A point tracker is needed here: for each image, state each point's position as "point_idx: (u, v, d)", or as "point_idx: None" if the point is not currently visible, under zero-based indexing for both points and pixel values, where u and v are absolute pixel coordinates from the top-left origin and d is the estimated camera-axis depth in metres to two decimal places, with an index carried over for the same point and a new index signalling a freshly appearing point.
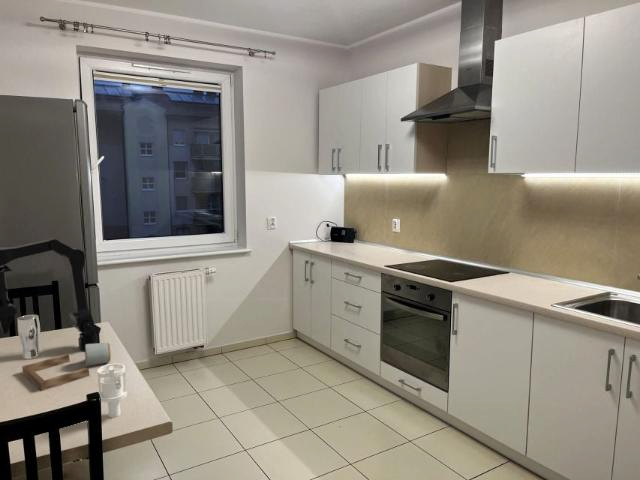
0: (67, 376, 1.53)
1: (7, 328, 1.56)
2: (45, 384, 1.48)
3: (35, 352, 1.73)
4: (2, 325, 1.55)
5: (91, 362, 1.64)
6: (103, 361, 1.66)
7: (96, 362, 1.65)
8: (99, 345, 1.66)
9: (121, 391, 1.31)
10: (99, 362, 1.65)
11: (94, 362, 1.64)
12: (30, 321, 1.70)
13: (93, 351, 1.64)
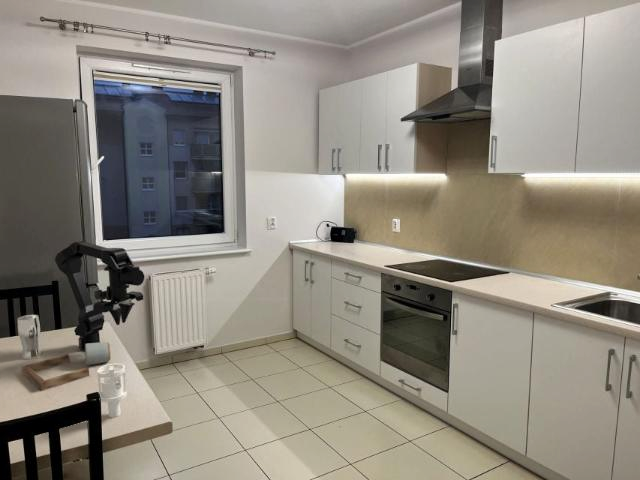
0: (67, 376, 1.53)
1: (117, 321, 1.72)
2: (45, 384, 1.48)
3: (35, 352, 1.73)
4: (113, 317, 1.72)
5: (91, 361, 1.64)
6: (103, 360, 1.66)
7: (96, 361, 1.65)
8: (99, 344, 1.67)
9: (121, 391, 1.31)
10: (99, 361, 1.66)
11: (93, 362, 1.65)
12: (30, 321, 1.70)
13: (93, 350, 1.64)
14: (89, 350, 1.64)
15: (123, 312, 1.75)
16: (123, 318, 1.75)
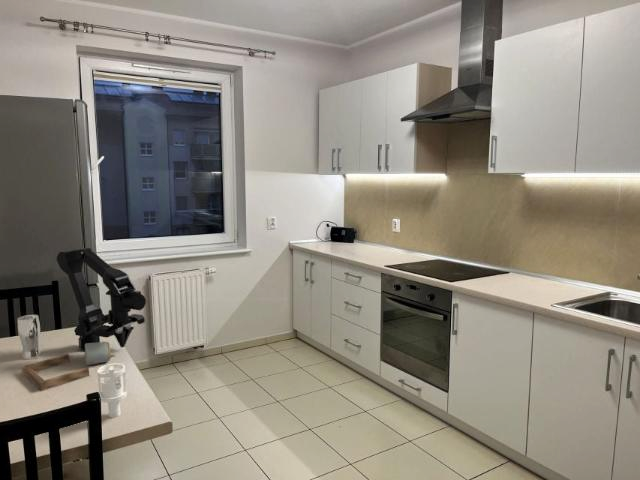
0: (67, 376, 1.53)
1: (121, 343, 1.74)
2: (45, 384, 1.48)
3: (35, 352, 1.73)
4: (117, 339, 1.74)
5: (91, 361, 1.65)
6: (103, 360, 1.67)
7: (96, 361, 1.66)
8: (99, 344, 1.67)
9: (121, 391, 1.31)
10: (99, 361, 1.66)
11: (93, 361, 1.65)
12: (30, 321, 1.70)
13: (93, 350, 1.65)
14: (89, 350, 1.64)
15: None
16: None
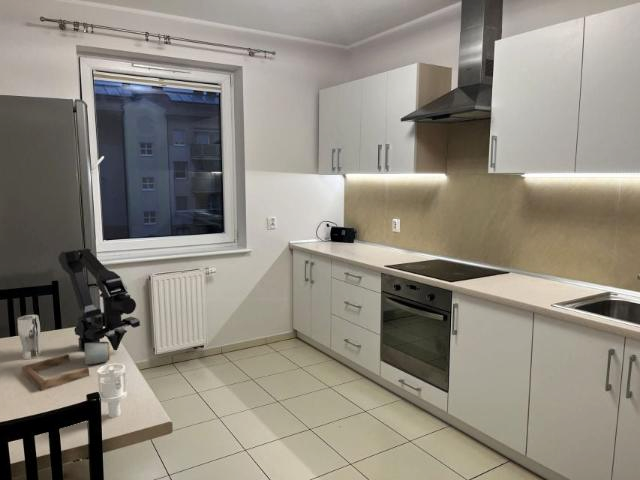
0: (67, 376, 1.53)
1: (114, 346, 1.72)
2: (45, 384, 1.48)
3: (35, 352, 1.73)
4: (110, 342, 1.72)
5: (90, 361, 1.65)
6: (102, 360, 1.67)
7: (95, 361, 1.66)
8: (98, 344, 1.67)
9: (121, 391, 1.31)
10: (98, 361, 1.66)
11: (93, 361, 1.65)
12: (30, 321, 1.70)
13: (92, 350, 1.65)
14: (88, 349, 1.64)
15: None
16: None
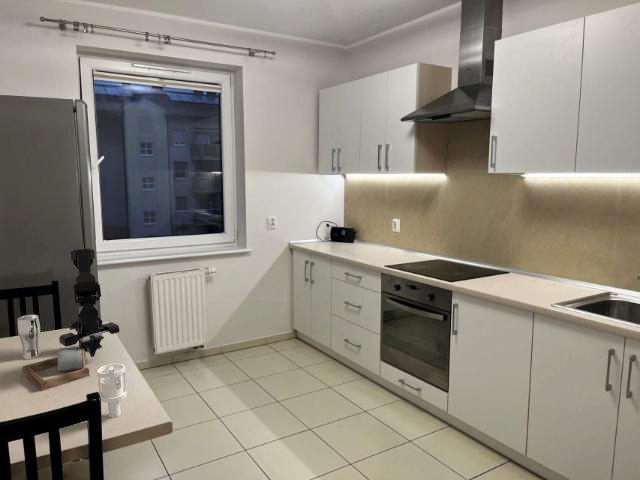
0: (67, 376, 1.53)
1: (90, 353, 1.66)
2: (45, 384, 1.48)
3: (35, 352, 1.73)
4: (87, 348, 1.66)
5: (63, 367, 1.59)
6: (76, 367, 1.61)
7: (68, 367, 1.60)
8: (73, 350, 1.61)
9: (121, 391, 1.31)
10: (72, 368, 1.61)
11: (66, 368, 1.60)
12: (30, 321, 1.70)
13: (65, 356, 1.59)
14: (61, 356, 1.59)
15: None
16: None
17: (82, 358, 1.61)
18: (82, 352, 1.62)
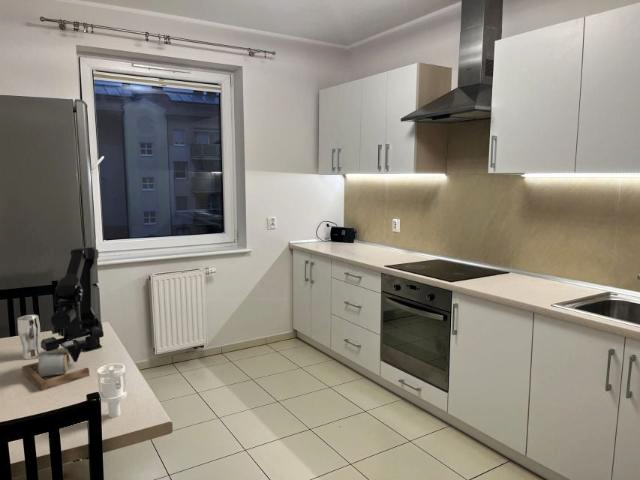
0: (67, 376, 1.53)
1: (73, 358, 1.62)
2: (45, 384, 1.48)
3: (35, 352, 1.73)
4: None
5: (44, 373, 1.55)
6: (57, 372, 1.57)
7: (50, 373, 1.56)
8: (54, 355, 1.57)
9: (121, 391, 1.31)
10: (53, 373, 1.56)
11: (47, 373, 1.56)
12: (30, 321, 1.70)
13: (46, 361, 1.55)
14: (42, 361, 1.55)
15: (75, 351, 1.63)
16: None
17: (64, 363, 1.57)
18: (64, 357, 1.58)
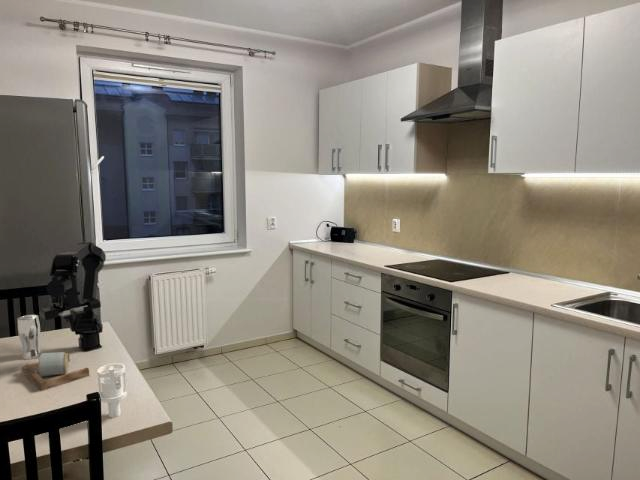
0: (67, 376, 1.53)
1: (70, 327, 1.65)
2: (45, 384, 1.48)
3: (35, 352, 1.73)
4: (67, 323, 1.66)
5: (44, 373, 1.55)
6: (57, 372, 1.57)
7: (50, 373, 1.56)
8: (54, 355, 1.58)
9: (121, 391, 1.31)
10: (53, 373, 1.57)
11: (47, 373, 1.56)
12: (30, 321, 1.70)
13: (46, 361, 1.55)
14: (42, 361, 1.55)
15: (73, 321, 1.66)
16: None
17: (64, 363, 1.57)
18: (64, 357, 1.58)
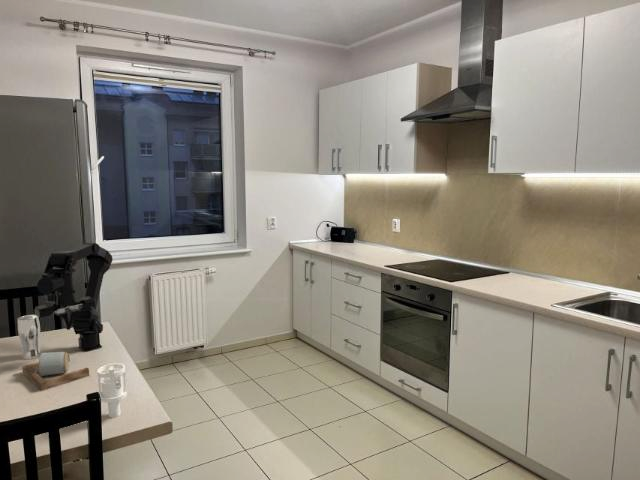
0: (67, 376, 1.53)
1: (65, 325, 1.67)
2: (45, 384, 1.48)
3: (35, 352, 1.73)
4: None
5: (44, 372, 1.56)
6: (58, 372, 1.57)
7: (50, 372, 1.56)
8: (54, 354, 1.58)
9: (121, 391, 1.31)
10: (53, 372, 1.57)
11: (47, 373, 1.56)
12: (30, 321, 1.70)
13: (47, 361, 1.56)
14: (42, 360, 1.55)
15: (68, 319, 1.68)
16: None
17: (64, 363, 1.58)
18: (64, 357, 1.58)
